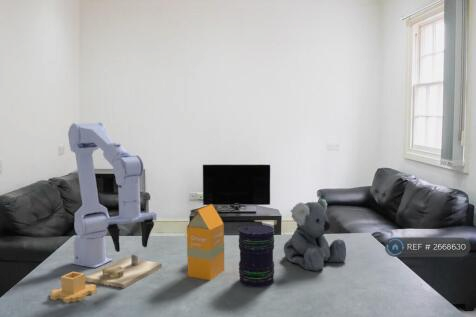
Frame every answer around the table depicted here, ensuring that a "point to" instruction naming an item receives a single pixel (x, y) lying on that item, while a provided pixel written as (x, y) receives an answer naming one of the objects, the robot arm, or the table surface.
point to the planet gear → (73, 288)
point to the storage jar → (256, 255)
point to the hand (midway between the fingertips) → (131, 248)
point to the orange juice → (205, 244)
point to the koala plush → (312, 238)
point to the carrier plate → (123, 272)
